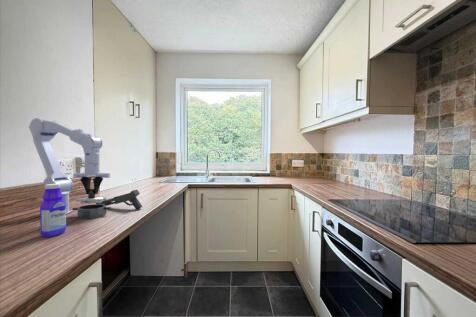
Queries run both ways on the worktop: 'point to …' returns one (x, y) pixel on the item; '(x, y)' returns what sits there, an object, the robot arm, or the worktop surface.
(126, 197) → the handgun
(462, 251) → the worktop surface
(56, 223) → the bottle
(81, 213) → the pot
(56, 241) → the worktop surface
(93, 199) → the lid
